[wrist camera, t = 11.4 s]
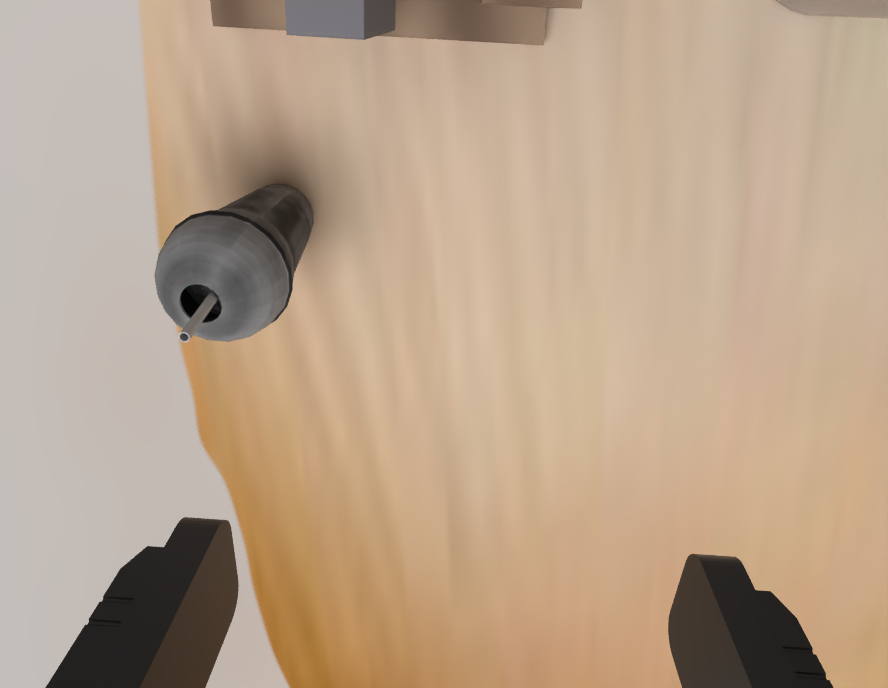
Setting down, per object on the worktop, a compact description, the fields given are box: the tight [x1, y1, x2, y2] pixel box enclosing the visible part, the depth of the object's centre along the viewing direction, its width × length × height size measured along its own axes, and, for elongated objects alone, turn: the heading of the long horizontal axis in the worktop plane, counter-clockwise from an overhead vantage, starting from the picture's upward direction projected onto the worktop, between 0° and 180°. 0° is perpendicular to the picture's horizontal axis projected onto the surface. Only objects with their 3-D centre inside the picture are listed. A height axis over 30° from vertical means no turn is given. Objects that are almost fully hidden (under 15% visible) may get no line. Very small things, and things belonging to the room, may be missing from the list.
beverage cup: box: [155, 184, 313, 342], centre depth 37 cm, size 7×7×20 cm
